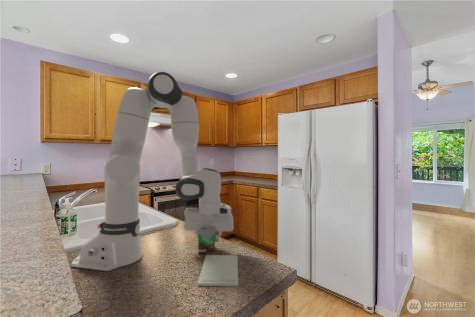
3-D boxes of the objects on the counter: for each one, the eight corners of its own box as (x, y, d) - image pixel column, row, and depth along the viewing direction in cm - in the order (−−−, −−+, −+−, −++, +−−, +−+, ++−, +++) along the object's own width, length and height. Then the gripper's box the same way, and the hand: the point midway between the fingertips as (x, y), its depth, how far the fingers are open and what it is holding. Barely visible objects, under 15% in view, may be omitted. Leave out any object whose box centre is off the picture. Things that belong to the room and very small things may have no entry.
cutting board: (197, 285, 66) (197, 282, 66) (205, 257, 85) (206, 254, 85) (238, 286, 66) (238, 283, 66) (237, 257, 85) (237, 255, 85)
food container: (212, 257, 86) (213, 231, 86) (196, 255, 87) (197, 229, 87) (220, 244, 98) (221, 221, 98) (207, 243, 99) (207, 220, 99)
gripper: (182, 208, 89) (181, 243, 89) (234, 210, 89) (233, 244, 89) (186, 205, 95) (185, 237, 95) (234, 206, 96) (233, 238, 96)
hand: (208, 241), depth 92 cm, fingers open, 6 cm apart
